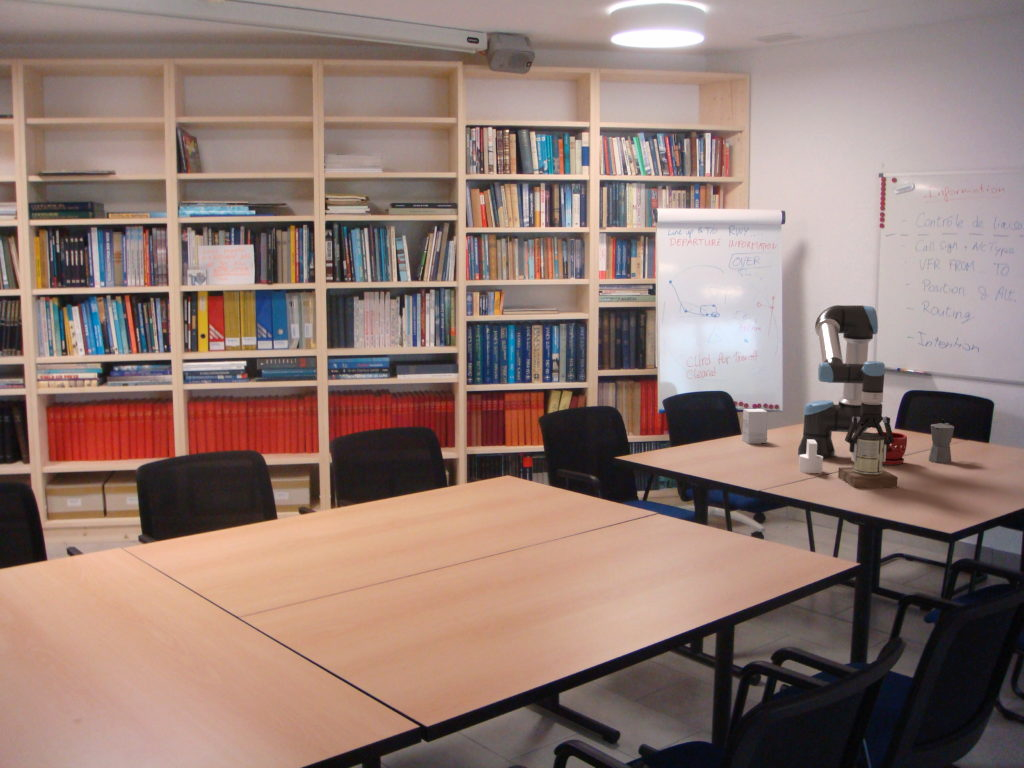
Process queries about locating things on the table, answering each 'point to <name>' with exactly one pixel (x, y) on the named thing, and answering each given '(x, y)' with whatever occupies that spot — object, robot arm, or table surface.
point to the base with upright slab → (811, 459)
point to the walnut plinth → (867, 478)
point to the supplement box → (754, 426)
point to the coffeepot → (941, 442)
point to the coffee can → (869, 454)
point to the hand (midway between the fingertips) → (868, 461)
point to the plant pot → (896, 449)
